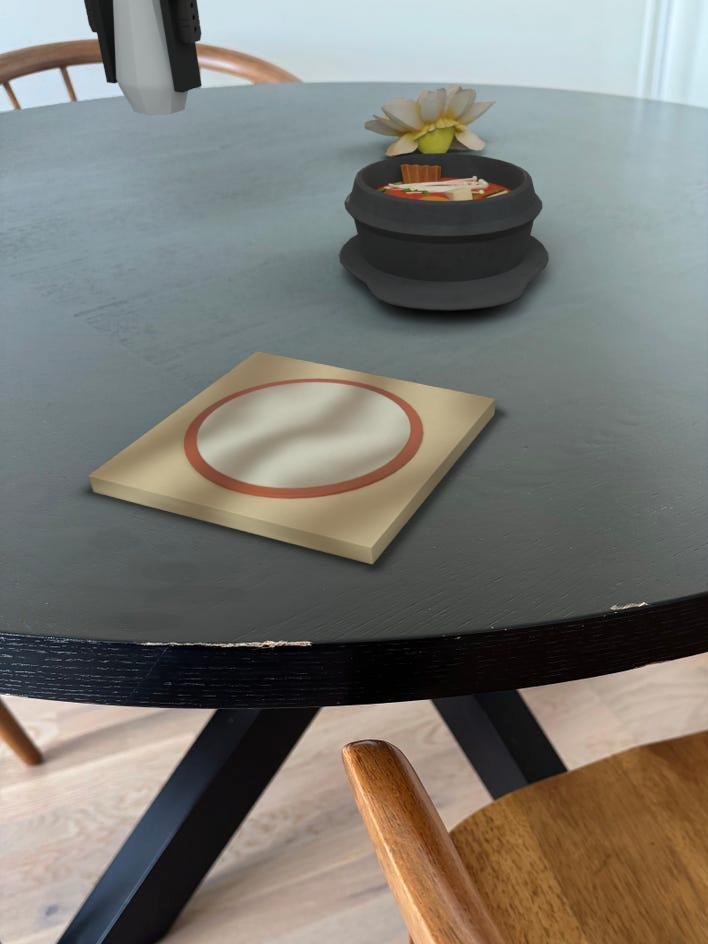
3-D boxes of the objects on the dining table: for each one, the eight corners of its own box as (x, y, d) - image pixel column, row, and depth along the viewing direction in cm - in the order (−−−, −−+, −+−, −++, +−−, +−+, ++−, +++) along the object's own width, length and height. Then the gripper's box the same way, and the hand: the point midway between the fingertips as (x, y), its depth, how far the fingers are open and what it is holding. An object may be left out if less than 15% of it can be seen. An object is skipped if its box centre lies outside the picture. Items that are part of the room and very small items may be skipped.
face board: (93, 492, 58) (86, 471, 57) (258, 366, 71) (256, 347, 70) (372, 564, 53) (371, 542, 52) (494, 414, 66) (495, 394, 65)
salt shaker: (110, 106, 80) (70, -88, 71) (172, 97, 83) (141, -91, 74) (144, 121, 76) (106, -81, 68) (207, 111, 79) (178, -84, 71)
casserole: (346, 229, 94) (339, 136, 89) (532, 228, 96) (536, 136, 90) (334, 334, 76) (324, 225, 70) (565, 331, 77) (573, 223, 71)
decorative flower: (474, 119, 121) (476, 33, 113) (505, 164, 115) (510, 78, 107) (361, 136, 118) (354, 50, 110) (387, 185, 112) (382, 97, 104)
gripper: (238, -307, 63) (278, 88, 78) (11, -308, 68) (90, 64, 83) (171, -319, 58) (227, 107, 73) (-71, -319, 63) (30, 80, 78)
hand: (154, 83), depth 78 cm, fingers closed on salt shaker, 6 cm apart
